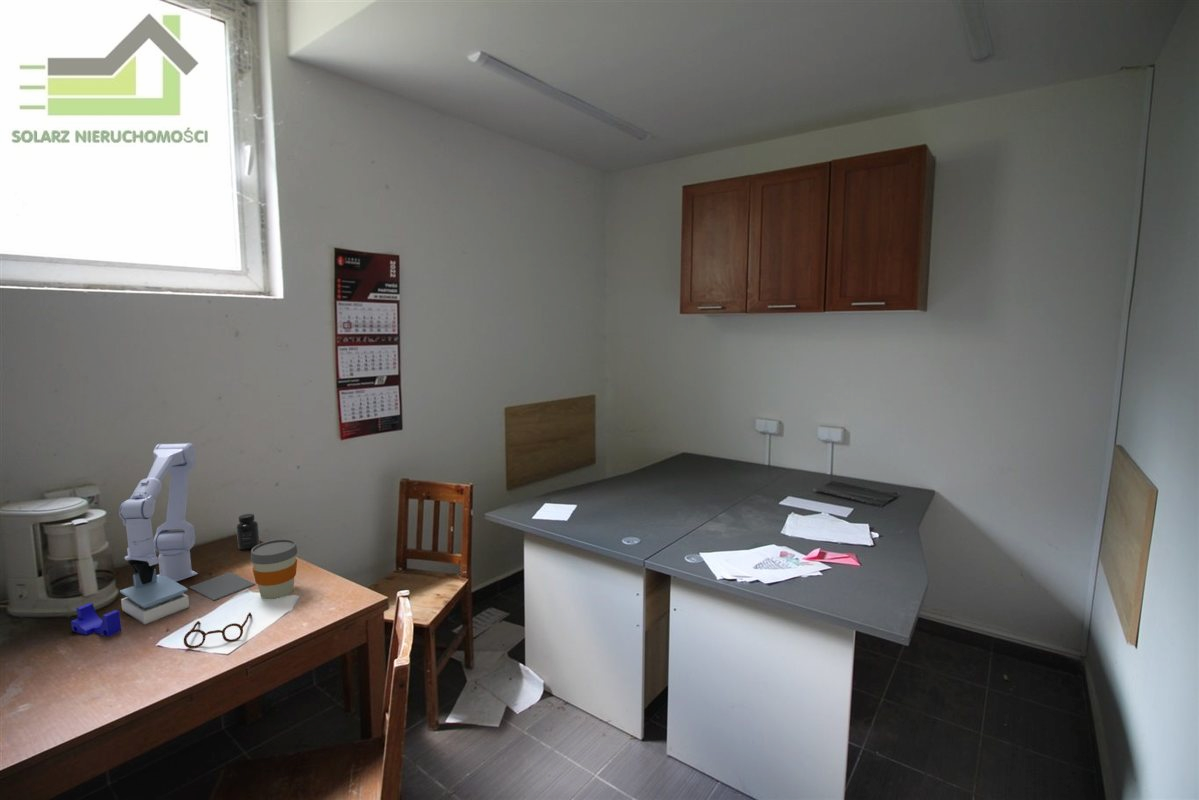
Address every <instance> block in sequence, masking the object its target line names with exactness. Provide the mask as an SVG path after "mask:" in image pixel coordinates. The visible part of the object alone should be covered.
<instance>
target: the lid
mask: <svg viewBox="0 0 1199 800" xmlns="http://www.w3.org/2000/svg"><path fill="white" fill-rule="evenodd" d="M132 579H133V585H132V586H129V587H126V588H124V589H120V590H119V592H120V594H122V595H124V596H125V598H126V597H128V598H129V599H131V600H133V601H134V602H136V603H137V604H139V605H140V606H142V607H145V608H147V607H150V606H152V605H155V604H158V603H160V602H163V601H166V600H168V599H171V598H174V597H176V596H179V595H182V594H183V593H185V592H188V591H189V588H187V587H185V586H184V585H182V584H180V583H178V581H177V582H175V581H173V580H172V579H170V578H168V577H167V576H165V575H164V576H161V577H157V569H156V568H155V569H154V572H153V577H152V582H150V583H147V584H142V582H141V580H140V576H139V573H136V574H135V573H134V574H132Z"/></svg>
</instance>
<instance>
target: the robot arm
mask: <svg viewBox="0 0 1199 800" xmlns="http://www.w3.org/2000/svg"><path fill="white" fill-rule="evenodd" d="M152 457H153V464H152V466H151V468H150V471H149V473H148V475H147V476H146V477H147V478H143V479H141V480H140V481H139V483H137V485H136V488H135V489H134V491H133V493H132V494H131V496H130V497H129V499H127V500H125V501H123V502H122V503H121V504H120V506H119V512H118V515H119V518H120V519H121V520H122V525H123V526H125V529H126V538H127V546H128V547H127V548H126V551H127V555H126V556H124V560H125V561H127V562H126V563H127V564H128V565H129V566H130V567H131V569H132V570H133V572H134V574H136V573H139V576H140V580H141V582H142V584H147V583H150V582H152V577H153V572H154V569H156V566H157V564H158V568H159V573H158V574H156V578H158V577H161V576H164V575H165V576H167V577H168V578H170V579H172V580H173V581H175V582H177V583H178V582H180V581H183V580H186V579H188V578H190V577H194V576H197V575H198V572H196V571H194V570H192V562H191V561H192V560H191V552H190V550H191V549H192V548H193V547H194V545H195V542H196V532H195V526H194V524H192V523H190V521H189V522H188V521H187V520H186V515H187V503H188V497H189V496H188V495H189V486H190V485H189V484H190V474H191V473H190V472H191V470H193V469H194V468H195V466H196V461H197V460H196V458H197V450H196V448H195V445H194V444H193V443H191V442H187V443H157V444H156V445H155V447H154V448H153V452H152ZM168 472H169V473H170V480H169V489H168V490H169V491H168V500H167V508H166V509H167V511H166V521H165V522H164V523H162V524H160V525H159V526H158V527H157V528H156V531H155V535H154V534H153V526H152V516H153V515H154V513H155V509H156V504H157V502H156V500H157V497H158V496H159V494H160V493H161V490H162V488H163V484H162V481H163V479H164V477H165V476H166V475H167V474H168ZM156 552H158V556H157V555H156V554H157V553H156Z"/></svg>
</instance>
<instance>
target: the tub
mask: <svg viewBox="0 0 1199 800" xmlns="http://www.w3.org/2000/svg"><path fill="white" fill-rule="evenodd" d="M189 600H190V599H189V595H187V594H185V592H183V594H182V595H179V596H176V597H174V598H171V599H168V600H166V601H163V602H160V603H158V604H155V605H152V606H150V607H147V608H145V607H142V606H140V605H139V604H137V603H136V602H134V601H133V600H131V599H129V598H128V597H126V596H125V597H123V598H121V599H120V602H121V603H120V604H121V609H122V612H124V613H126V614H128V615H129V616H130V617H132V618H134V619H135V620H137V621H138V622H140V623H142V624H143V625H147V624H149V623H153V622H155V621H157V620H159V619H161V618H164V617H167V616H170V615H172V614H175V613H177V612H180V611H182V610H185V609H188V608H190V601H189Z"/></svg>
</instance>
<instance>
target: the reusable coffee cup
mask: <svg viewBox="0 0 1199 800" xmlns="http://www.w3.org/2000/svg"><path fill="white" fill-rule="evenodd" d="M250 550H251V551H250V562H251V563H252V567H251V568H252V574H253V576H254V577H253V578H254V580H255V582H254V583H255V584H257V586H258V591H259V595H260V597H261V598H262V599H263V600H277V598H278V599H282V598H285V597H286V596H287V597H288V595H290V594H291V593H292V592H293V591H294V584H295V576H297V566H298V559H297V554H298V547H297V542H296V541H295V540H293V539H288V538H284V539H283V538H282V539H281V538H279V539H273V540H268V541H263V542H262V543H260V544H258V545H256V546H255V547H253V548H252V549H250Z"/></svg>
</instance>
